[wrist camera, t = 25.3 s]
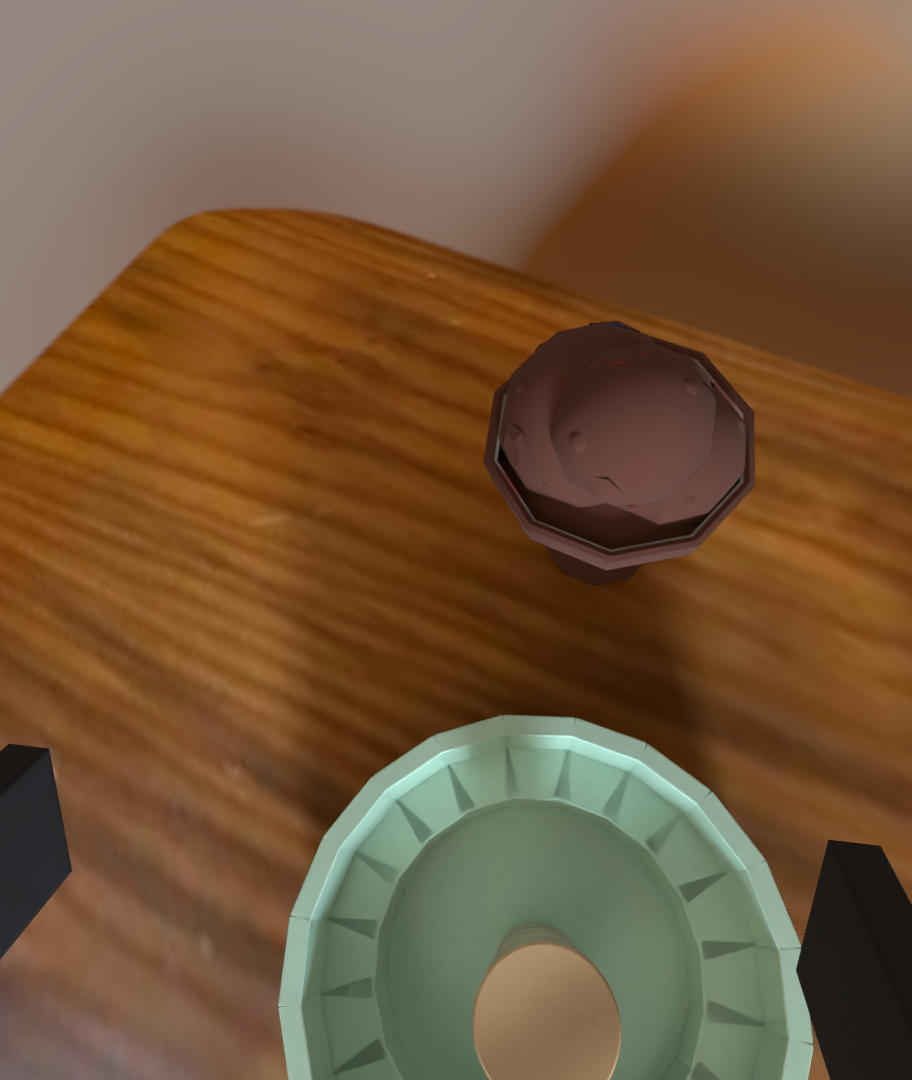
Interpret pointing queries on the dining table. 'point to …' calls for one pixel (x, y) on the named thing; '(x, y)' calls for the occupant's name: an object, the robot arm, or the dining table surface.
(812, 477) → the dining table surface
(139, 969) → the dining table surface
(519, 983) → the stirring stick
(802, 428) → the dining table surface
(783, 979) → the mixing bowl
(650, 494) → the ice cream bowl
